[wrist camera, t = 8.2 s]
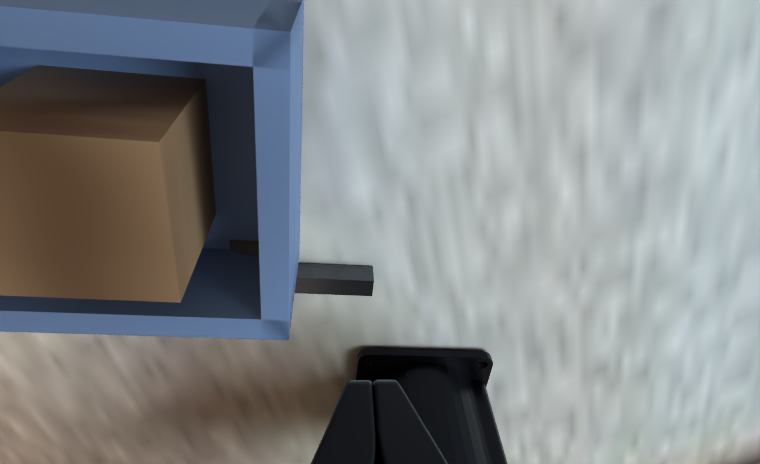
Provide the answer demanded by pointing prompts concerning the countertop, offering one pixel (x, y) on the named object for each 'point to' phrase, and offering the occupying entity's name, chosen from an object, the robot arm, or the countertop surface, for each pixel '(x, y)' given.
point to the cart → (228, 148)
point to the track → (334, 279)
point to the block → (103, 184)
